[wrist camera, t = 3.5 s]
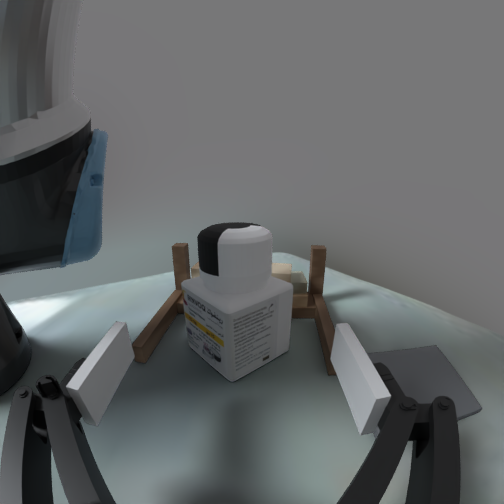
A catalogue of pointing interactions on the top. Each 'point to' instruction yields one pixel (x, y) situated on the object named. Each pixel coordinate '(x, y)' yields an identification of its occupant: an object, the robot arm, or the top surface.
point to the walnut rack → (313, 310)
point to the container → (237, 300)
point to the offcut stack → (286, 275)
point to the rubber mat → (427, 378)
